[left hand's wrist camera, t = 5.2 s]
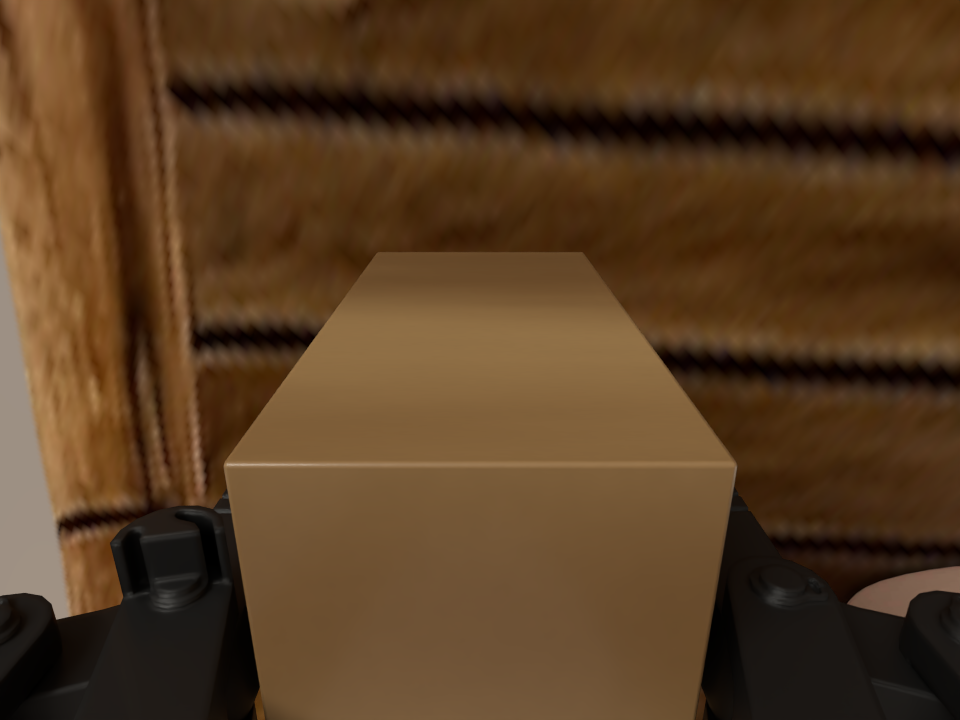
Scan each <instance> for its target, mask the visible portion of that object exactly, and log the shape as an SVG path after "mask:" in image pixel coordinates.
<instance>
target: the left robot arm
mask: <svg viewBox="0 0 960 720" xmlns="http://www.w3.org/2000/svg"><path fill="white" fill-rule="evenodd" d="M110 545H111V549H112V553H113V557H114V561H115V565H116V569H117V573H118V577H119V581H120V585H121V589H122V593H123V600H122V602H121V604H120V605H117V606H114V607H110V608H107V609H103V610H99V611H94V612H90V613H85V614H81V615H76V616H71V617H67V618H62V619H58V620H56V618H55V614H54V611H53V608H52V605H51V603H50V602H48V601H47V600H46V599H45V598H44V597H43V596H40V595H34V594H28V593H20V594H12V595H3V596H0V720H257V715H256V709H255V703H254V701H255V698H256V696H257V693H258V690H259V688H260V684H259V678H258V672H257V666H256V659H255V653H254V647H253V641H252V635H251V629H250V623H249V617H248V611H247V605H246V599H245V593H244V587H243V581H242V575H241V568H240V562H239V556H238V550H237V544H236V538H235V532H234V526H233V520H232V514H231V508H230V502H229V496H228V490H227V489H226V491H225V492H224V494H223V498H222V499H220V500H219V501H218V503H217V504H216V506H215V507H214V509H209V508H206V507H202V506H176V507H172V508H167V509H162V510H158V511H155V512H153V513H150V514H148V515H145V516H143V517H141V518H138V519H136V520H135V521H133V522H132V523H130V524H129V525H127V526H126V527H124V528H123V529H121V530H120V531H119V533H118V534H117V535H116V536H115V537H114V539H113V540H112V541H111V542H110ZM701 686H702V689H703V691H704V694H705V696H706V703H705V709H704V715H703V720H960V593H956V592H947V591H939V590H935V591H929V592H923V593H919V594H918V595H917V596H916V597H914V598H913V599H912V600H911V601H910V603H909V606H908V610H907V613H906V616H905V617H901V616H897V615H892V614H888V613H883V612H878V611H874V610H869V609H865V608H860V607H856V606H853V605H849V604H846V603H842V602H839V601H838V598H837V596H836V595H835V593H834V592H833V590H832V589H831V587H830V586H829V584H828V583H827V582H826V581H825V580H823V579H822V578H821V577H819V576H818V575H817V574H816V573H814V572H813V571H812V570H810V569H808V568H806V567H803V566H801V565H799V564H797V563H795V562H793V561H790V560H786V559H782V557H781V556H780V554H779V553H778V551H777V550H776V548H775V547H774V545H773V544H772V542H771V541H770V539H769V538H768V536H767V535H766V533H765V532H764V530H763V529H762V527H761V526H760V524H759V523H758V522H757V520H756V519H755V517H754V516H753V514H752V513H751V511H748V507H747V505H746V504H745V502H744V501H743V499H742V498H741V496H738V492H737V490H736V489H735V487H734V489H733V495H732V501H731V508H730V514H729V520H728V526H727V532H726V538H725V544H724V550H723V556H722V562H721V568H720V574H719V580H718V586H717V592H716V598H715V604H714V610H713V616H712V622H711V628H710V634H709V640H708V646H707V652H706V658H705V664H704V671H703V677H702V683H701Z"/></svg>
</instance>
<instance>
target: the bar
mask: <svg viewBox="0 0 960 720" xmlns="http://www.w3.org/2000/svg"><path fill="white" fill-rule="evenodd" d="M224 471H225V477H226V483H227V490H228V496H229V502H230V508H231V514H232V520H233V526H234V532H235V538H236V544H237V550H238V556H239V562H240V568H241V575H242V581H243V587H244V593H245V599H246V605H247V611H248V617H249V623H250V629H251V635H252V641H253V647H254V653H255V659H256V666H257V672H258V678H259V684H260V690H261V696H262V702H263V708H264V714H265V720H695V719H696V713H697V707H698V701H699V695H700V689H701V683H702V677H703V671H704V664H705V658H706V652H707V646H708V640H709V634H710V628H711V622H712V616H713V610H714V604H715V598H716V592H717V586H718V580H719V574H720V568H721V562H722V556H723V550H724V544H725V538H726V532H727V526H728V520H729V514H730V508H731V501H732V495H733V489H734V483H735V477H736V471H737V463H736V461H735V460H734V458H733V457H732V456H731V454H730V453H729V452H728V450H727V449H726V447H725V446H724V445H723V443H722V442H721V441H720V439H719V438H718V436H717V435H716V434H715V432H714V431H713V430H712V428H711V427H710V426H709V424H708V423H707V421H706V420H705V419H704V417H703V416H702V415H701V413H700V412H699V411H698V409H697V408H696V406H695V405H694V404H693V402H692V401H691V400H690V398H689V397H688V395H687V394H686V393H685V391H684V390H683V389H682V387H681V386H680V385H679V383H678V382H677V380H676V379H675V378H674V376H673V375H672V374H671V372H670V371H669V369H668V368H667V367H666V365H665V364H664V363H663V361H662V360H661V359H660V357H659V356H658V354H657V353H656V352H655V350H654V349H653V348H652V346H651V345H650V343H649V342H648V341H647V339H646V338H645V337H644V335H643V334H642V333H641V331H640V330H639V328H638V327H637V326H636V324H635V323H634V322H633V320H632V319H631V318H630V316H629V315H628V313H627V312H626V311H625V309H624V308H623V307H622V305H621V304H620V302H619V301H618V300H617V298H616V297H615V296H614V294H613V293H612V292H611V290H610V289H609V287H608V286H607V285H606V283H605V282H604V281H603V279H602V278H601V276H600V275H599V274H598V272H597V271H596V270H595V268H594V267H593V266H592V264H591V263H590V261H589V260H588V259H587V257H586V256H585V255H584V253H582V252H378V253H377V254H376V255H375V256H374V258H373V259H372V261H371V262H370V263H369V265H368V266H367V267H366V269H365V270H364V272H363V273H362V274H361V276H360V277H359V278H358V280H357V281H356V283H355V284H354V285H353V287H352V288H351V289H350V291H349V292H348V293H347V295H346V296H345V298H344V299H343V300H342V302H341V303H340V304H339V306H338V307H337V309H336V310H335V311H334V313H333V314H332V315H331V317H330V318H329V320H328V321H327V322H326V324H325V325H324V326H323V328H322V329H321V331H320V332H319V333H318V335H317V336H316V337H315V339H314V340H313V342H312V343H311V344H310V346H309V347H308V348H307V350H306V351H305V353H304V354H303V355H302V357H301V358H300V359H299V361H298V362H297V364H296V365H295V366H294V368H293V369H292V370H291V372H290V373H289V375H288V376H287V377H286V379H285V380H284V381H283V383H282V384H281V386H280V387H279V388H278V390H277V391H276V392H275V394H274V395H273V397H272V398H271V399H270V401H269V402H268V403H267V405H266V406H265V408H264V409H263V410H262V412H261V413H260V414H259V416H258V417H257V418H256V420H255V421H254V423H253V424H252V425H251V427H250V428H249V429H248V431H247V432H246V434H245V435H244V436H243V438H242V439H241V440H240V442H239V443H238V445H237V446H236V447H235V449H234V450H233V451H232V453H231V454H230V456H229V457H228V458H227V460H226V461H225V463H224Z"/></svg>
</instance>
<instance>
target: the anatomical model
mask: <svg viewBox="0 0 960 720" xmlns="http://www.w3.org/2000/svg"><path fill="white" fill-rule="evenodd" d="M935 590H939V591H947V592H956V593H960V566H953V567H946V568H939V569H931V570H925V571H920V572H915V573H910V574H905V575H901V576H897V577H893V578H890V579H886V580H882V581H879V582H877V583H874V584H872V585H870V586H867V587H865V588H864V589H862V590H861V591H859V592H858V593H856V594H855V595H854V596H853V597H852V598H851V599H850V601H849V602H848V603H847V604H849V605H853V606H856V607H860V608H865V609H869V610H874V611H878V612H883V613H888V614H892V615H897V616H901V617H905V616H906V613H907V610H908V606H909V603H910V601H911V600H912V599H913V598H914V597H916V596H917V595H918V594H919V593H923V592H929V591H935Z"/></svg>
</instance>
